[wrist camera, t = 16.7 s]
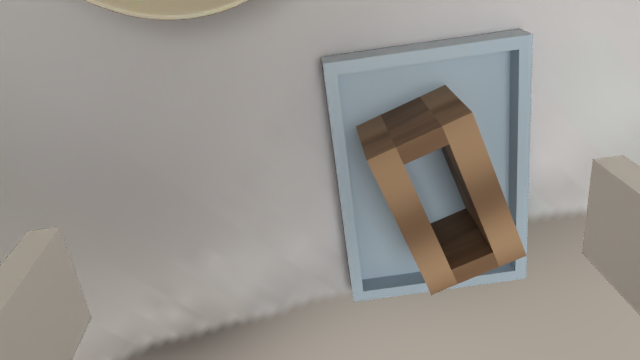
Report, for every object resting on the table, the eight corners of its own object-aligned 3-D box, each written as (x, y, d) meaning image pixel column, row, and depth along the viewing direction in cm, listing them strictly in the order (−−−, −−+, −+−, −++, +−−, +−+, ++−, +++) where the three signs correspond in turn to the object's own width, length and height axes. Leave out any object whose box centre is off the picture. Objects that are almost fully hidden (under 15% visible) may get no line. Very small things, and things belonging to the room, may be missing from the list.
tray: (351, 285, 43) (353, 301, 41) (321, 57, 36) (322, 63, 34) (516, 263, 43) (526, 278, 41) (520, 28, 35) (532, 34, 34)
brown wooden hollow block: (355, 126, 37) (366, 160, 32) (445, 84, 36) (472, 112, 31) (421, 264, 42) (441, 315, 36) (502, 230, 41) (534, 277, 35)
